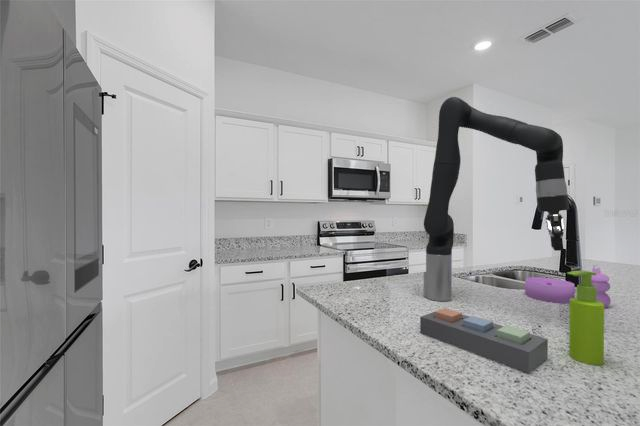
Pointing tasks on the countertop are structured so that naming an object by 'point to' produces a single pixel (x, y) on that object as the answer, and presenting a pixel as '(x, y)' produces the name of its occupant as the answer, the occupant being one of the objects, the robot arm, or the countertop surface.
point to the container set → (564, 289)
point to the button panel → (487, 343)
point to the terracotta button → (448, 315)
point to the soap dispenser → (586, 322)
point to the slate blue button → (478, 324)
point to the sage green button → (513, 335)
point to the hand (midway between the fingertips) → (557, 249)
